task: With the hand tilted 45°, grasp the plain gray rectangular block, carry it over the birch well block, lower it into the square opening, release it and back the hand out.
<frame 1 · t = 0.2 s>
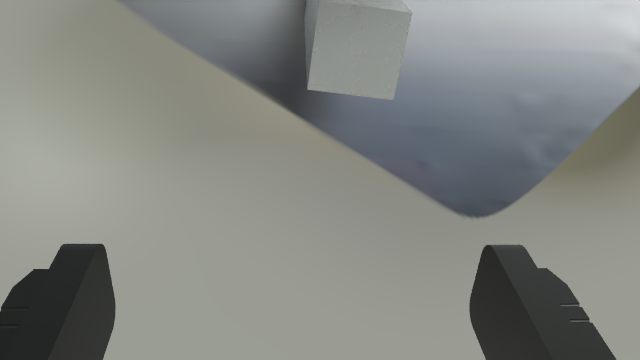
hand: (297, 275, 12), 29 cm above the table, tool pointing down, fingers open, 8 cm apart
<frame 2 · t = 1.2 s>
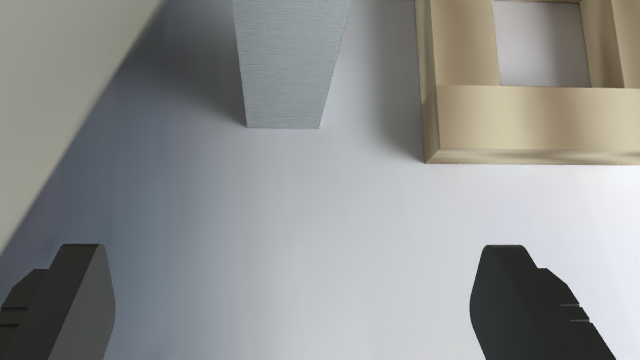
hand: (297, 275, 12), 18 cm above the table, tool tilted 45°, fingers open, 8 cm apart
well block: (531, 52, 34), on the table
plain gray rectangular block: (283, 95, 32), on the table
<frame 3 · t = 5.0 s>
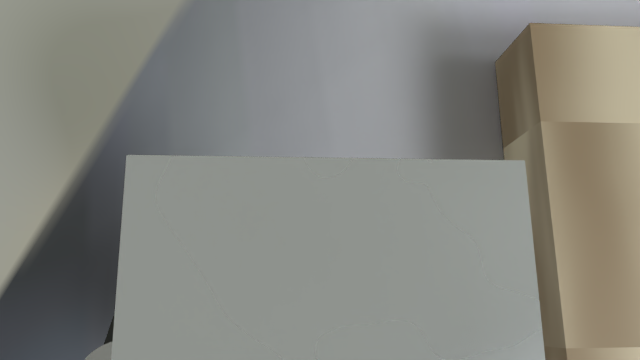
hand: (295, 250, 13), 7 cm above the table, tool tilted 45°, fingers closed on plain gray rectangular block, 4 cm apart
plain gray rectangular block: (288, 332, 19), on the table, touching gripper
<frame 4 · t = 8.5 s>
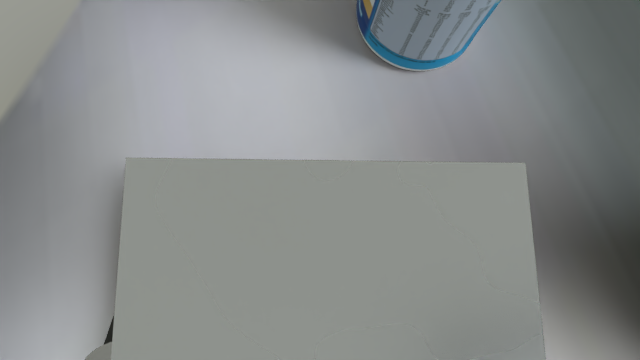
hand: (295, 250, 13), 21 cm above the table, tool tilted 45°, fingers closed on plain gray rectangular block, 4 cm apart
beverage bottle: (412, 20, 38), on the table
plain gray rectangular block: (288, 333, 19), point 15 cm above the table, touching gripper
when the fingers open (7 cm above the table, at t = 11.8 s): plain gray rectangular block stays where it is, resting in well block.
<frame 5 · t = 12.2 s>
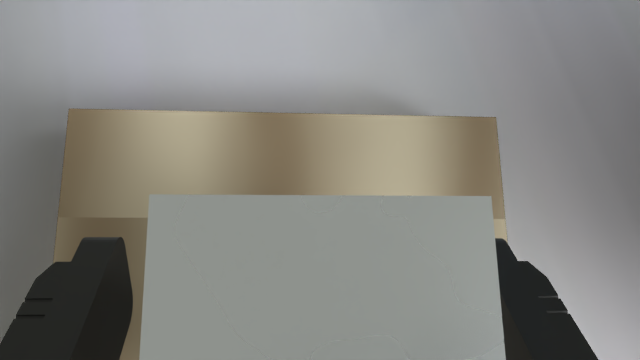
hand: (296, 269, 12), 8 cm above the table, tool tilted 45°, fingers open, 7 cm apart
well block: (286, 331, 20), on the table
plain gray rectangular block: (288, 336, 20), resting in well block
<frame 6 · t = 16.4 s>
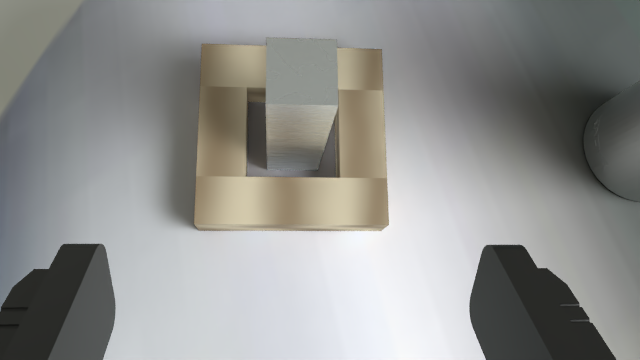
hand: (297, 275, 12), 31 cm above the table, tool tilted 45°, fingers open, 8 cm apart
well block: (291, 143, 45), on the table
plain gray rectangular block: (292, 145, 45), resting in well block
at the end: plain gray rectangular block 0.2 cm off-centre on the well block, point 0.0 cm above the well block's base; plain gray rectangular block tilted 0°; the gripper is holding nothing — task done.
